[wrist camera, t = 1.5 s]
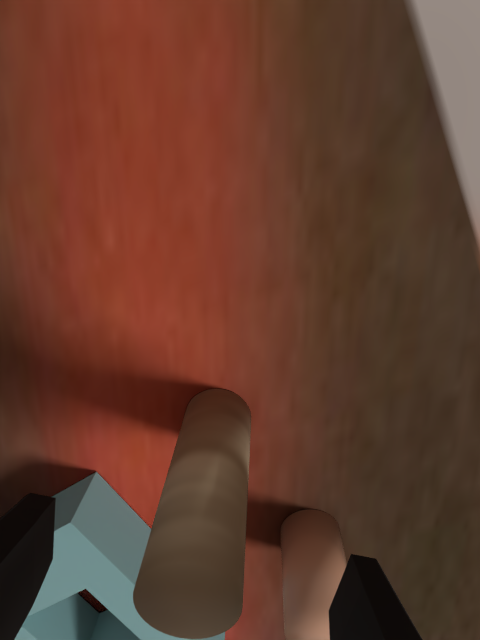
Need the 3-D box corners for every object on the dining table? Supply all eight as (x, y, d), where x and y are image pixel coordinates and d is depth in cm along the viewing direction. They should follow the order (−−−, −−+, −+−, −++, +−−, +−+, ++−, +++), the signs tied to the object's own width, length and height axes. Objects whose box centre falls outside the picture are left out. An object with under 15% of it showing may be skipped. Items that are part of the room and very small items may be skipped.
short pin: (269, 524, 18) (270, 623, 14) (320, 500, 17) (336, 597, 14) (300, 561, 19) (308, 665, 15) (350, 539, 18) (373, 642, 14)
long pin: (172, 408, 16) (110, 588, 10) (226, 377, 15) (199, 546, 9) (210, 454, 17) (176, 651, 10) (263, 426, 16) (263, 616, 10)
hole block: (-26, 539, 19) (-66, 594, 17) (96, 471, 17) (70, 522, 15) (109, 658, 22) (90, 720, 19) (226, 609, 20) (221, 670, 18)
